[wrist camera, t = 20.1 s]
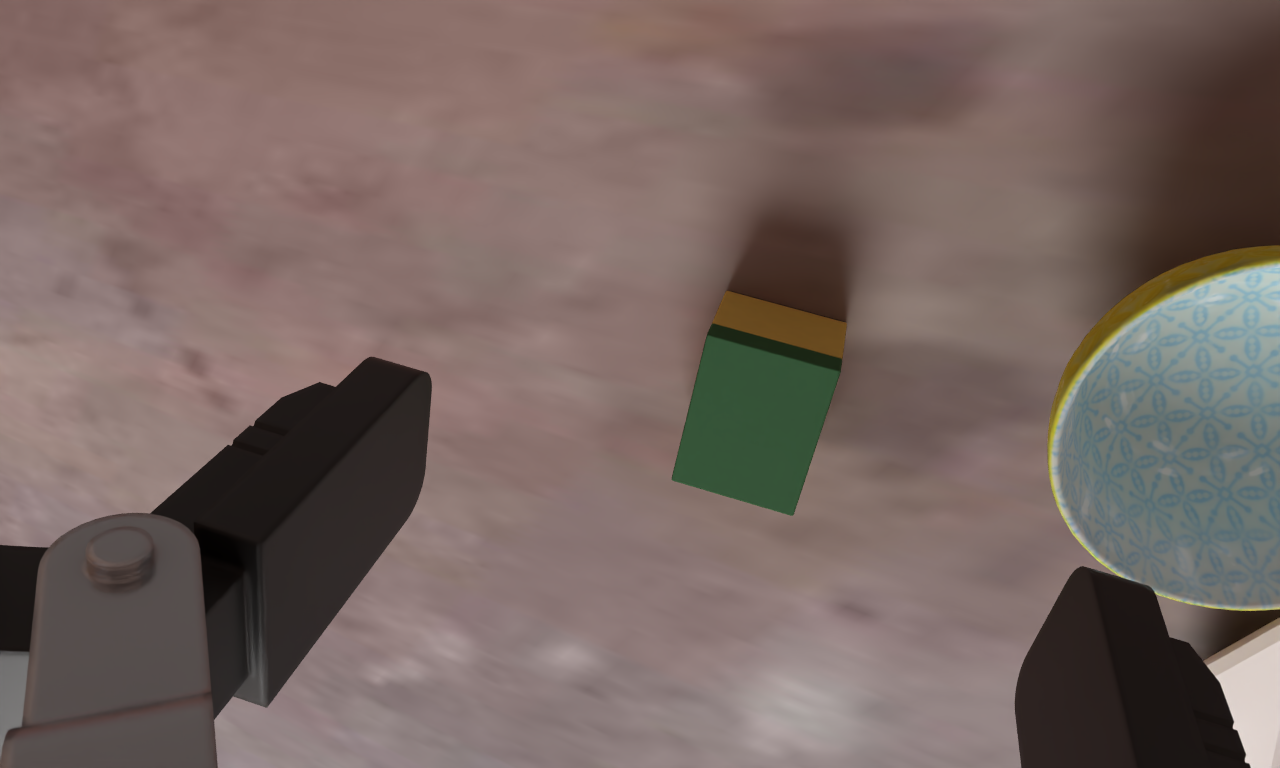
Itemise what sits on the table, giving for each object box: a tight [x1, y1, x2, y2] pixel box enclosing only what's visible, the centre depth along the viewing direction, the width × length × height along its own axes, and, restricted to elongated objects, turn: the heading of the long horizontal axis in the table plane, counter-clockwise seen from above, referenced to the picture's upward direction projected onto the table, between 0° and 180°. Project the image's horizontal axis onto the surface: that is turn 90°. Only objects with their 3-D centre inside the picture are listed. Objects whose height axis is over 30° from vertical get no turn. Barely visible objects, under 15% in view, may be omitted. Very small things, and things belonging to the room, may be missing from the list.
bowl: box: [1048, 245, 1280, 611], centre depth 30 cm, size 11×12×6 cm
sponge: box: [672, 291, 847, 516], centre depth 35 cm, size 6×4×4 cm
